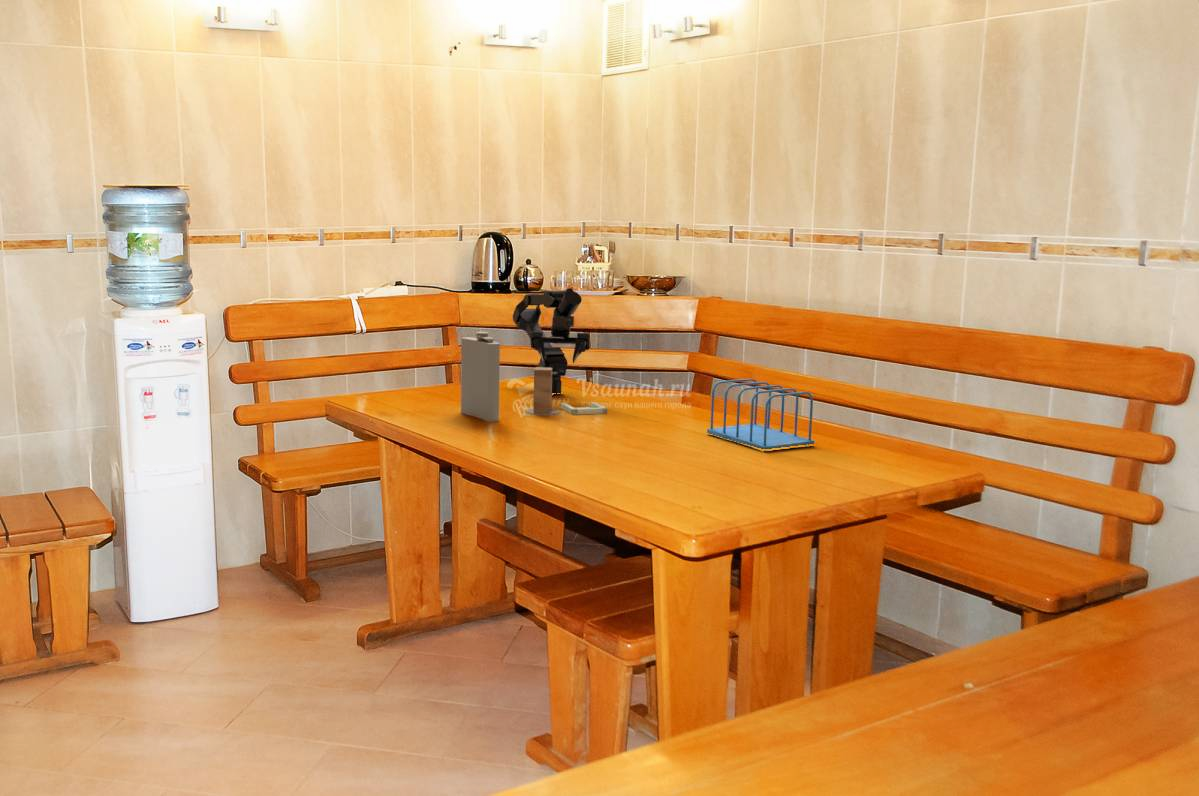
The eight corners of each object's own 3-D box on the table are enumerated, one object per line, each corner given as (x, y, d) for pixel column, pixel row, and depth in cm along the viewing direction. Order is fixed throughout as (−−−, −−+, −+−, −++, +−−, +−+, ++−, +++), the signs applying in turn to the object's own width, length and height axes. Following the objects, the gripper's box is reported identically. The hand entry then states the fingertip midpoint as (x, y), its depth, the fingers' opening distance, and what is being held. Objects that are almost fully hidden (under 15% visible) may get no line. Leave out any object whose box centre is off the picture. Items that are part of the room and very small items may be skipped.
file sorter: (706, 435, 309) (708, 381, 306) (755, 430, 318) (757, 377, 315) (764, 453, 288) (767, 395, 285) (814, 447, 297) (818, 390, 294)
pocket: (560, 409, 341) (561, 403, 340) (594, 408, 344) (594, 402, 344) (572, 416, 330) (572, 409, 330) (607, 414, 334) (607, 408, 334)
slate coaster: (516, 413, 333) (516, 411, 333) (541, 408, 341) (541, 406, 341) (543, 418, 326) (543, 416, 326) (568, 413, 334) (568, 411, 334)
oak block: (534, 409, 336) (535, 367, 334) (551, 410, 336) (552, 367, 334) (533, 412, 331) (534, 369, 329) (550, 413, 331) (551, 370, 329)
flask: (503, 420, 321) (504, 334, 316) (489, 422, 318) (490, 335, 314) (472, 411, 334) (473, 328, 330) (458, 412, 331) (459, 329, 327)
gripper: (531, 306, 350) (527, 345, 341) (590, 307, 349) (588, 346, 340) (532, 328, 359) (529, 366, 350) (590, 330, 358) (588, 368, 349)
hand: (558, 361), depth 347 cm, fingers open, 9 cm apart
